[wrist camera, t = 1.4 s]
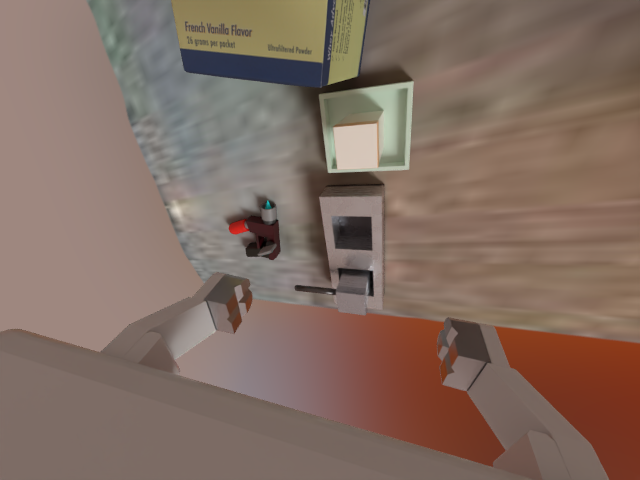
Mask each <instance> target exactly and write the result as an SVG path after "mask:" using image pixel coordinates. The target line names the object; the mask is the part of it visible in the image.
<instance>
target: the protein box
mask: <svg viewBox="0 0 640 480" xmlns="http://www.w3.org/2000/svg"><path fill="white" fill-rule="evenodd" d="M171 2H172V7H173V12H174V18H175V23H176V29H177V34H178V40H179V45H180V51H181V56H182V61H183V66H184V70H185V71H186V72H189V73H196V74H203V75H211V76H218V77H226V78H234V79H243V80H251V81H260V82H268V83H277V84H285V85H294V86H304V87H320V88H321V87H322V86H326V85H330V84H333V83H336V82H340V81H343V80H347V79H351V78H354V77H358V76H359V74H360V67H361V60H362V53H363V46H364V39H365V32H366V25H367V18H368V11H369V4H370V0H171Z"/></svg>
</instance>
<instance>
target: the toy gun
mask: <svg viewBox="0 0 640 480" xmlns="http://www.w3.org/2000/svg"><path fill="white" fill-rule="evenodd" d="M260 209H261V217H257V216H250V217H249V218H248V219H244V220H241V221H238V222H234V223H232V224H230V226H229V231H230V232H231V233H232V234H239V233H242V232H246V231H250V232H252V233H256V241H257V243H250V244H249V245H248V246H247V247H246V255H247V257H260V256H261V257H266V258H269V259H270V260H274V259H275V258H276V257H277V256H278V254H279V253H280V239H279V224H278V220H276V218H277V212H276V204H274V208H271V206H270V204H269V201H268V200H267V203H263V204H261V205H260ZM264 237H267V243H266V242H265V240H264Z"/></svg>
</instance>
